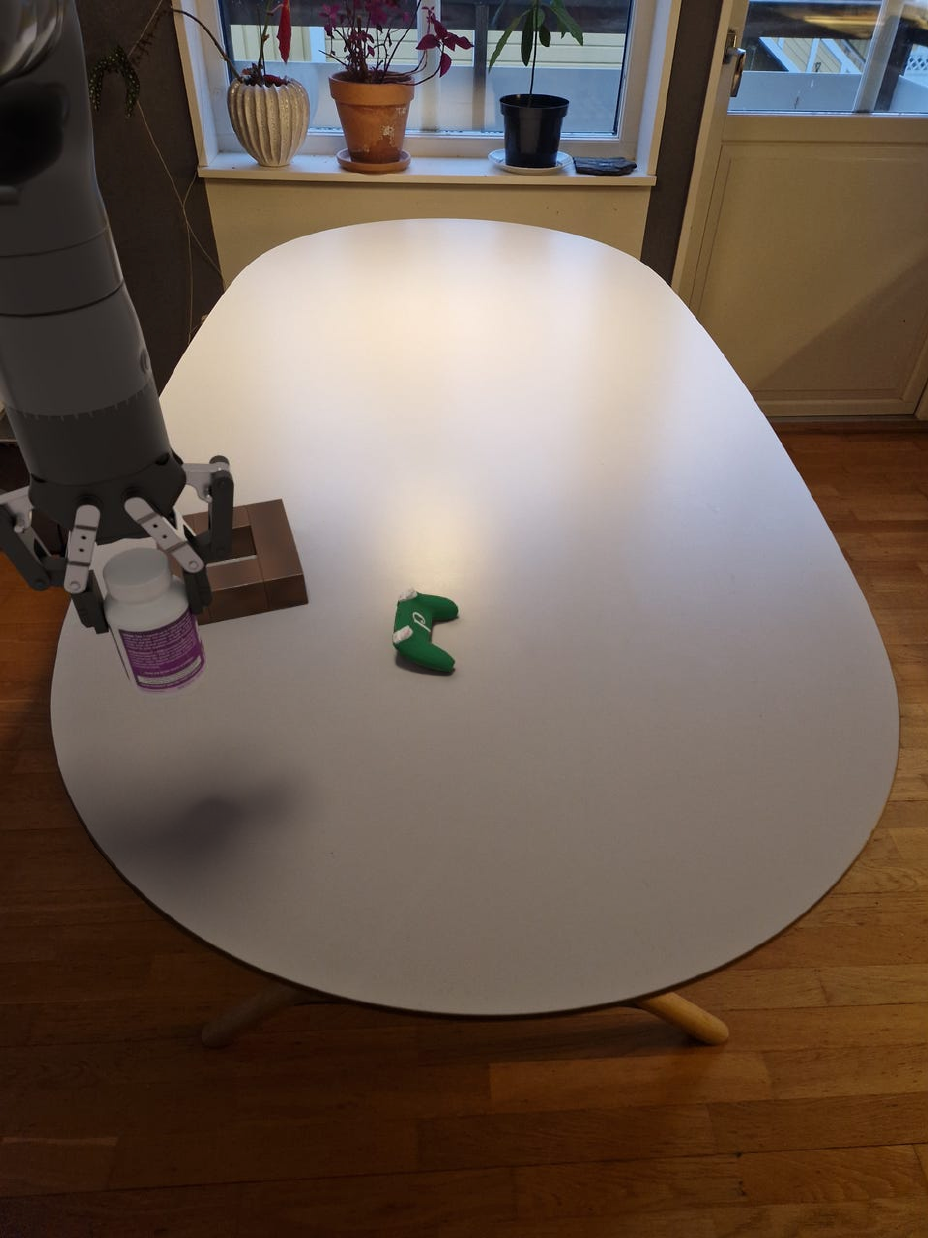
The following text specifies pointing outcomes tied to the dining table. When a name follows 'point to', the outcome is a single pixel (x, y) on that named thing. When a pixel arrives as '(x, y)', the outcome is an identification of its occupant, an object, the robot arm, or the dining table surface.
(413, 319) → the dining table surface
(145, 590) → the pill bottle
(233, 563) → the holder
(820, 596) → the dining table surface
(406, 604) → the gaming controller
